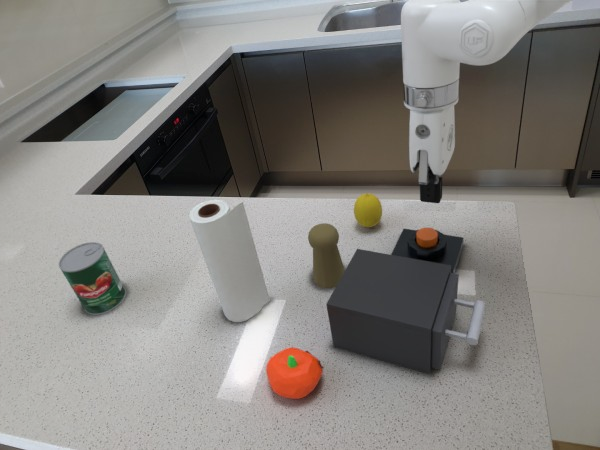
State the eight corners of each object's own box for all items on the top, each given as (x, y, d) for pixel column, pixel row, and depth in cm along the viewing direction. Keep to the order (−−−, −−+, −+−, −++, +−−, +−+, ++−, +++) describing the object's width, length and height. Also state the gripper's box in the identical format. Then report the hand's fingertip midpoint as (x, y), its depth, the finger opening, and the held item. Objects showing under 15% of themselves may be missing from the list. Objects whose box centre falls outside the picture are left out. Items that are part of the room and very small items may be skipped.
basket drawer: (485, 317, 69) (490, 279, 65) (472, 379, 62) (476, 341, 57) (373, 292, 77) (369, 257, 73) (348, 344, 69) (343, 308, 65)
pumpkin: (281, 357, 70) (273, 329, 67) (330, 369, 67) (325, 341, 64) (260, 397, 65) (251, 370, 62) (312, 413, 62) (305, 384, 58)
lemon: (353, 221, 96) (349, 189, 91) (379, 216, 95) (377, 184, 91) (358, 237, 91) (355, 204, 86) (386, 232, 91) (384, 198, 86)
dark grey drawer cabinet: (449, 310, 73) (451, 265, 67) (430, 375, 64) (430, 329, 58) (361, 291, 79) (357, 248, 73) (333, 347, 70) (326, 303, 65)
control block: (462, 246, 84) (464, 229, 82) (453, 279, 78) (454, 261, 76) (403, 237, 89) (403, 220, 87) (389, 267, 83) (389, 250, 80)
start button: (439, 237, 82) (439, 229, 81) (434, 249, 79) (435, 241, 78) (419, 233, 83) (419, 226, 82) (414, 246, 81) (414, 238, 80)
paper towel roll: (218, 319, 79) (180, 219, 66) (234, 295, 83) (201, 196, 71) (255, 327, 76) (223, 224, 64) (270, 301, 80) (242, 200, 68)
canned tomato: (96, 321, 83) (69, 277, 77) (77, 303, 88) (50, 260, 82) (134, 295, 87) (111, 251, 81) (114, 279, 92) (91, 236, 86)
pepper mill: (324, 262, 87) (317, 215, 80) (352, 271, 83) (347, 223, 77) (306, 282, 83) (297, 234, 76) (335, 293, 80) (327, 244, 73)
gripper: (446, 114, 58) (444, 229, 69) (468, 72, 68) (463, 178, 79) (389, 112, 61) (395, 223, 72) (417, 73, 72) (419, 174, 82)
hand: (431, 199), depth 75 cm, fingers closed
